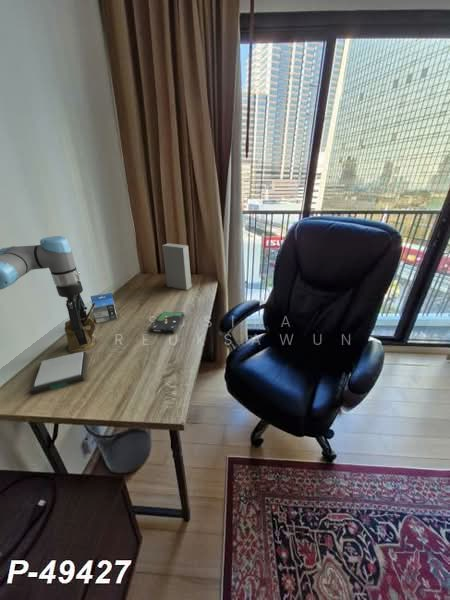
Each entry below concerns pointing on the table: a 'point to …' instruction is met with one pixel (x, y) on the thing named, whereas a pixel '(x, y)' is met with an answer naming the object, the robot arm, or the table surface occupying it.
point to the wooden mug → (71, 336)
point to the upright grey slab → (177, 266)
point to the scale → (60, 372)
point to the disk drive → (167, 322)
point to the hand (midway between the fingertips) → (84, 334)
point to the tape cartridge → (104, 308)
